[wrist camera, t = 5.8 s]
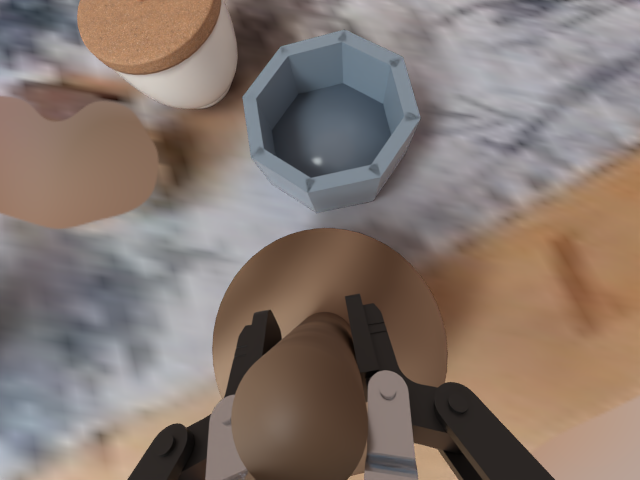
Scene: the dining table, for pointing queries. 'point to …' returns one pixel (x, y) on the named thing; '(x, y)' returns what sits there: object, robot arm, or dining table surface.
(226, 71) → the lidded jar
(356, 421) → the walnut lid
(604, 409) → the dining table surface
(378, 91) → the ceramic bowl
